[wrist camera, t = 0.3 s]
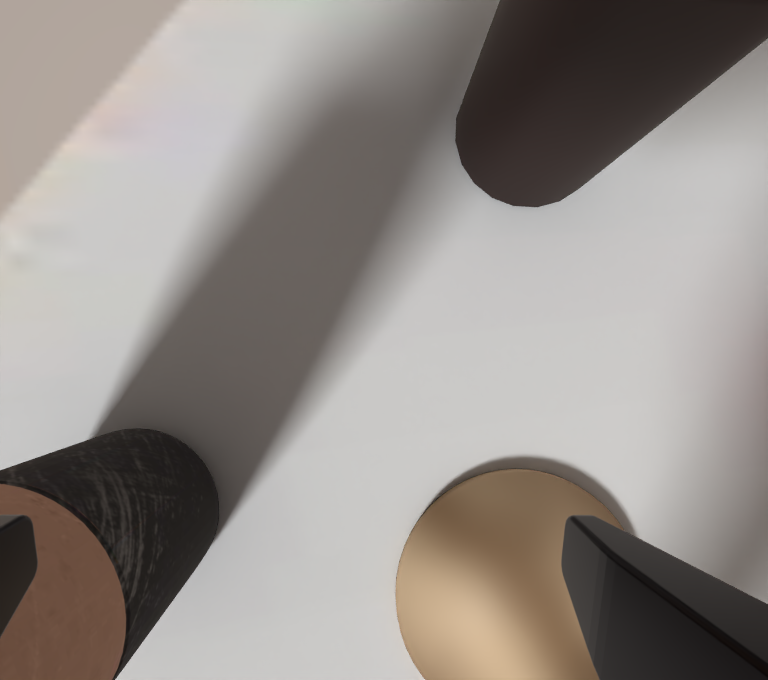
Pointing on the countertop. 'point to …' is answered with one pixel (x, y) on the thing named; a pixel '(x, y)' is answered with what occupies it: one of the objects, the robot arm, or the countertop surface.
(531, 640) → the trivet
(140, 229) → the countertop surface
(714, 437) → the countertop surface
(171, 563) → the travel mug
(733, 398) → the countertop surface
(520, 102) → the bottle
